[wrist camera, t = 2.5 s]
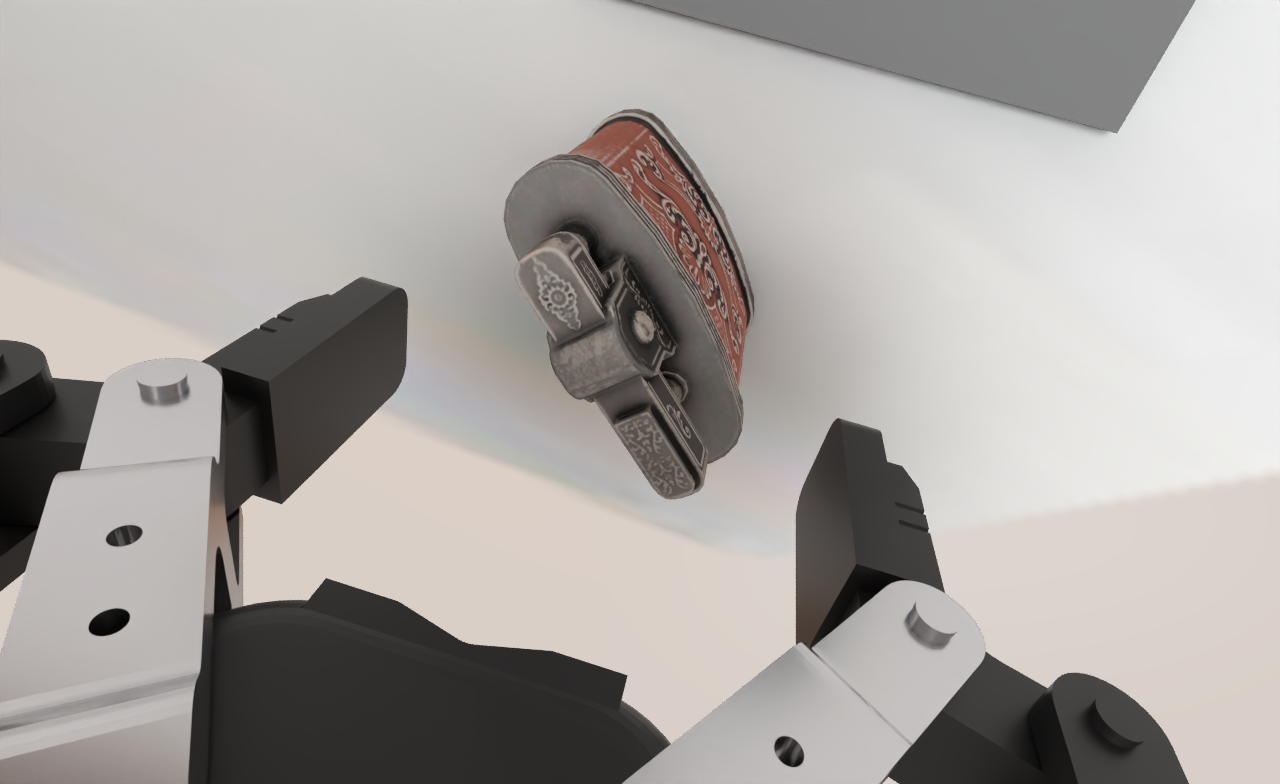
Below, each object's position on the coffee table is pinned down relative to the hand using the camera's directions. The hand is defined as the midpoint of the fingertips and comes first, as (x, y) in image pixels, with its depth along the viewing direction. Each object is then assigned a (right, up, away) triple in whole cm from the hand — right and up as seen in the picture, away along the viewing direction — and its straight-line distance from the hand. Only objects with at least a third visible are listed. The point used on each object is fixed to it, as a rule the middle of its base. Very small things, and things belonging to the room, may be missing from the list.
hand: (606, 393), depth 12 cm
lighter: (+2, +5, +9) cm, 11 cm away
